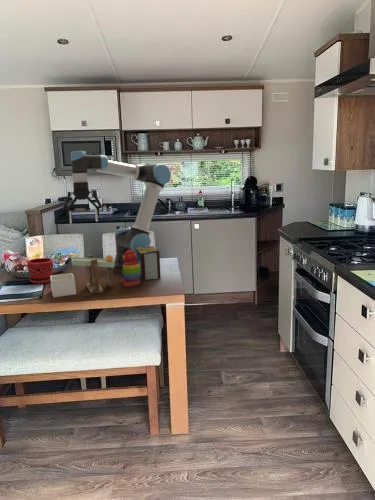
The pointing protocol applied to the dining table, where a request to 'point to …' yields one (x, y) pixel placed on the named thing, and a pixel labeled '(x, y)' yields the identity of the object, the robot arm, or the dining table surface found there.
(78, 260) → the lever
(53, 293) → the grey box
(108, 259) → the ball
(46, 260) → the plant pot
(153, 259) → the protein box
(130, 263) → the stacking bear
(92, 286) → the stand
